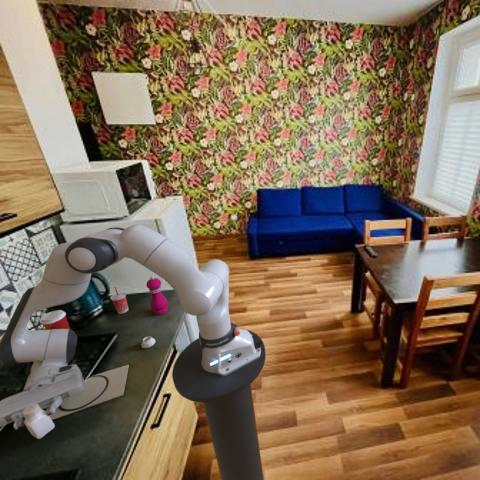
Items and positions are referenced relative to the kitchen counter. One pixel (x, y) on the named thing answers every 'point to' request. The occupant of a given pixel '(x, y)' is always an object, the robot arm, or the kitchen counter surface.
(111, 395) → the drawing sheet
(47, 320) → the paper cup
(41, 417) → the pepper shaker
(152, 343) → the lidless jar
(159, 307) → the pepper mill
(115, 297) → the beverage cup
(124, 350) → the kitchen counter surface
